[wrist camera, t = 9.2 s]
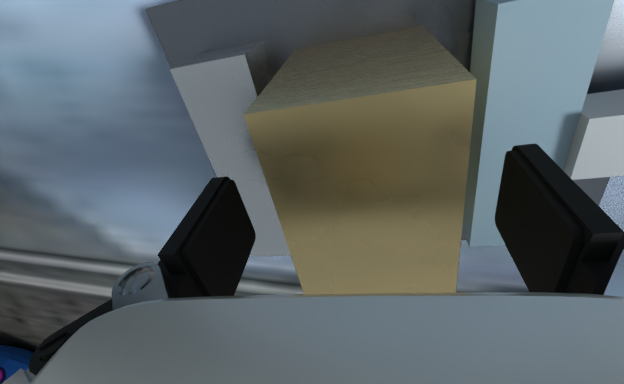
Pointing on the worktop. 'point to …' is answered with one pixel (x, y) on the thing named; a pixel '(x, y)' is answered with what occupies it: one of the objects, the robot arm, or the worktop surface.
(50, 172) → the worktop surface
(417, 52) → the brass block
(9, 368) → the ceramic pot
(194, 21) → the vise body
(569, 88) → the sliding jaw
